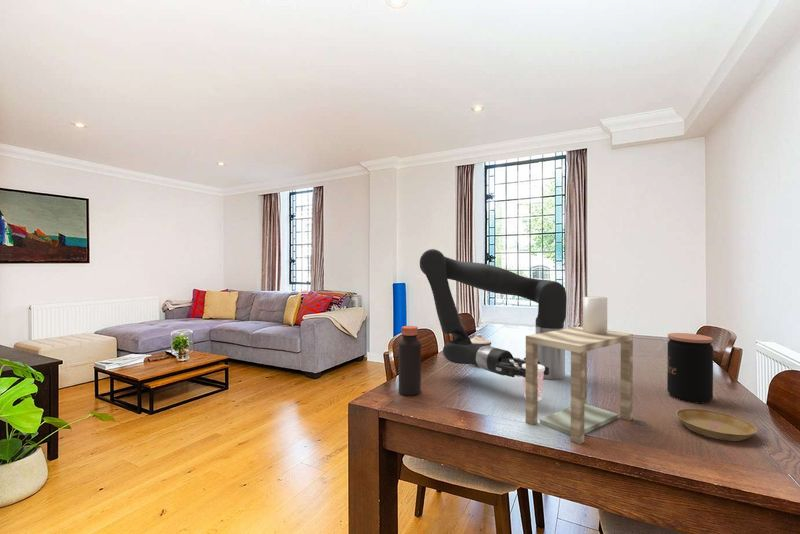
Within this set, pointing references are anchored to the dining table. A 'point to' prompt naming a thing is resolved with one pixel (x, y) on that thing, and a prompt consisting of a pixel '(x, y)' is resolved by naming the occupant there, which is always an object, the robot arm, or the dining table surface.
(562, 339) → the stand
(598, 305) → the candle
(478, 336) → the beige lidded canister
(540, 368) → the beverage cup
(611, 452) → the dining table surface
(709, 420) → the plant saucer
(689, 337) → the coffee jar
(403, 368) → the bottle
